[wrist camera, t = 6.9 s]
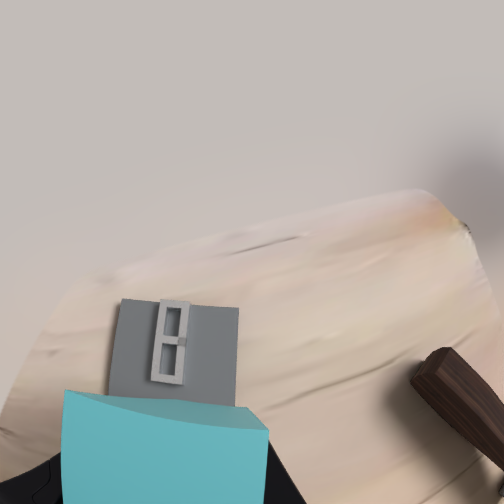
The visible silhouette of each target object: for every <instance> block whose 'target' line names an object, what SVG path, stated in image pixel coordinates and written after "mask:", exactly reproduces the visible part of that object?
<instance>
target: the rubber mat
mask: <svg viewBox="0 0 504 504" xmlns="http://www.w3.org/2000/svg"><path fill="white" fill-rule="evenodd" d="M159 307H160V302H151V301H141V300H131V299H122V301H121V306H120V312H119V317H118V323H117V328H116V334H115V341H114V348H113V355H112V362H111V371H110V380H109V390H108V396H118V397H130V398H147V399H178V400H184V401H191V402H198V403H205V404H213V405H223V406H234V407H235V386H236V361H237V337H238V315H239V308H232V307H214V306H199V305H191V314H190V323H189V333H188V343H187V355H186V367H185V380H184V385H179V384H171V383H164V382H157V381H152V380H151V371H152V361H153V352H154V343H155V335H156V328H157V320H158V313H159ZM180 317H181V311H172V310H169V314H168V322H167V330H166V336H174V337H178V334H179V325H180ZM176 354H177V346H169V345H165V347H164V357H163V367H162V374H165V375H172V376H175V365H176Z"/></svg>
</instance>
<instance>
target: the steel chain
mask: <svg viewBox="0 0 504 504" xmlns="http://www.w3.org/2000/svg"><path fill="white" fill-rule="evenodd" d="M169 310H172V311H181V317H180V325H179V334H178V337H174V336H166V330H167V322H168V314H169ZM190 314H191V303H190V302H189V301H176V300H164V299H161V300H160V307H159V313H158V320H157V328H156V335H155V343H154V352H153V361H152V371H151V380H152V381H157V382H164V383H171V384H179V385H184V380H185V367H186V355H187V343H188V333H189V323H190ZM165 345H169V346H177V354H176V365H175V376H172V375H165V374H162V367H163V357H164V347H165Z"/></svg>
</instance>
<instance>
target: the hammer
mask: <svg viewBox="0 0 504 504" xmlns="http://www.w3.org/2000/svg"><path fill="white" fill-rule="evenodd" d="M411 385H412V386H413V387H414V389H415V390H416V391H417V392H418V393H419V394H420V395H421V396H422V397H423V399H424V400H425V401H426V402H427V403H428V404H429V405H430V406H431V407H432V408H433V409H434V410H435V411H436V412H437V413H438V414H439V415H440V416H441V417H442V418H443V419H444V420H445V421H447V422H448V423H449V424H450V425H451V426H452V427H453V428H455V429H456V430H457V431H458V432H459V433H460V434H461V435H463V436H464V437H465V438H466V439H467V440H468V441H470V442H471V443H472V444H473V445H474V446H475V447H476V448H478V449H479V450H480V451H481V452H482V453H483V454H484V455H486V456H487V457H488V458H489V459H490V460H491V461H492V462H494V463H495V464H496V465H497V466H498V467H499V468H501V469H502V470H503V471H504V404H503V403H502V402H501V400H500V399H499V398H498V396H497V395H496V394H495V392H494V391H493V390H492V388H491V387H490V386H489V385H488V384H487V383H486V382H485V381H484V380H483V379H482V378H481V376H480V375H479V374H478V373H477V372H476V371H475V370H474V369H473V368H472V367H471V366H470V365H469V364H468V363H467V362H466V361H465V360H464V359H463V358H462V357H461V356H460V355H459V354H458V353H457V352H456V351H455V350H453V349H452V348H451V347H442V348H440V349H437V350H435V351H433V352H432V353H431V354H430V355H429V356H428V357H427V358H426V360H425V361H424V363H423V364H422V366H421V367H420V369H419V370H418V372H417V373H416V375H415V376H414V377H413V379H412V380H411ZM499 493H500V494H501V495H502V496H503V497H504V484H503V486H502V488H501V489H500V491H499Z"/></svg>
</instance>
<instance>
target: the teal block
mask: <svg viewBox="0 0 504 504" xmlns="http://www.w3.org/2000/svg"><path fill="white" fill-rule="evenodd" d="M268 440H269V429H268V428H267V427H266V426H265V425H264V424H263V423H262V422H261V421H260V420H259V419H258V418H257V417H256V416H255V415H254V414H253V413H252V412H251V411H250V410H249V409H248V408H247V407H234V406H223V405H213V404H205V403H198V402H191V401H184V400H178V399H147V398H130V397H118V396H108V395H99V394H91V393H84V392H77V391H71V390H65V395H64V404H63V416H62V432H61V478H62V493H63V504H263V500H264V489H265V478H266V466H267V453H268Z"/></svg>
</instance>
